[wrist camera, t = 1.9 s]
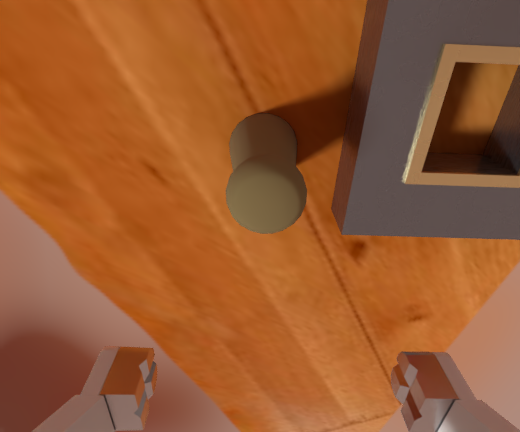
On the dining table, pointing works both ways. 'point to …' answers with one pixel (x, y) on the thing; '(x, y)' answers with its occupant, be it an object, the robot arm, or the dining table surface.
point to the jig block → (428, 124)
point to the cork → (265, 175)
